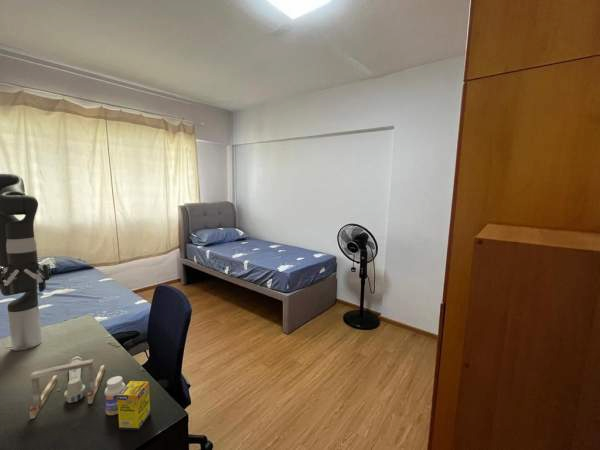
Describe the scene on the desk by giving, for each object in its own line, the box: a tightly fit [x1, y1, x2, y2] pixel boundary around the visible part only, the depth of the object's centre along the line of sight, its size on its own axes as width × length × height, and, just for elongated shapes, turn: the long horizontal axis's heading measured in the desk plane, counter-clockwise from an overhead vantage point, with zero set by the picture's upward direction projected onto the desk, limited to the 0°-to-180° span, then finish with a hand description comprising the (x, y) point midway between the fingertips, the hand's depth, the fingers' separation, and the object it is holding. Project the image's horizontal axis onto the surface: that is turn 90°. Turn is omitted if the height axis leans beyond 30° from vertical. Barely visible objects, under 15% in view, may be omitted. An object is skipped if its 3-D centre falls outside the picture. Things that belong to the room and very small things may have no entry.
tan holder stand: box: [29, 358, 106, 420], centre depth 91 cm, size 18×16×12 cm
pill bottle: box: [104, 375, 126, 416], centre depth 84 cm, size 5×5×10 cm
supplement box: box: [117, 380, 151, 431], centre depth 79 cm, size 6×6×11 cm
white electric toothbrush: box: [63, 355, 86, 404], centre depth 96 cm, size 5×7×25 cm
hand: (26, 293), depth 99 cm, fingers open, 8 cm apart
